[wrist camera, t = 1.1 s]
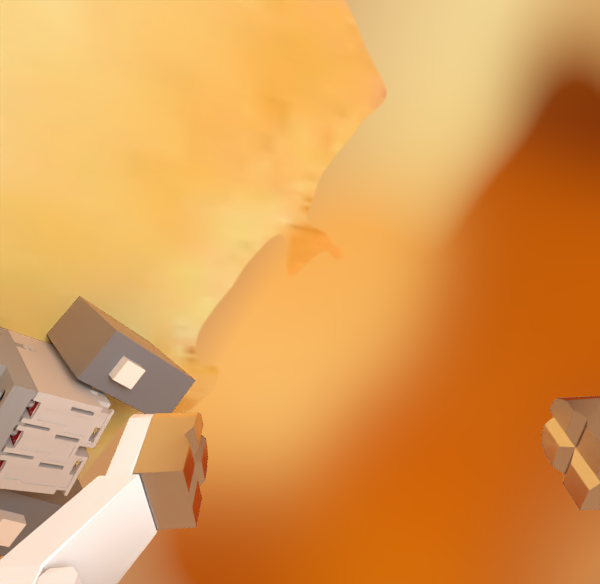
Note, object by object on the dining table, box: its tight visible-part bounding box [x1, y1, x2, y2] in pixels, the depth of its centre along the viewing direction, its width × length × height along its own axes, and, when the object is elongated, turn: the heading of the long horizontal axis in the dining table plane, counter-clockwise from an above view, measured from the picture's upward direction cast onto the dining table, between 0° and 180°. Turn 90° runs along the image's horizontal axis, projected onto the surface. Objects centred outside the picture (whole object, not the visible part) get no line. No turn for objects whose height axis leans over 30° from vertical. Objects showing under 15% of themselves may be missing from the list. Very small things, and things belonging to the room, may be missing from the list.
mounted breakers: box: [0, 296, 195, 556], centre depth 43 cm, size 10×20×13 cm, turn 133°
